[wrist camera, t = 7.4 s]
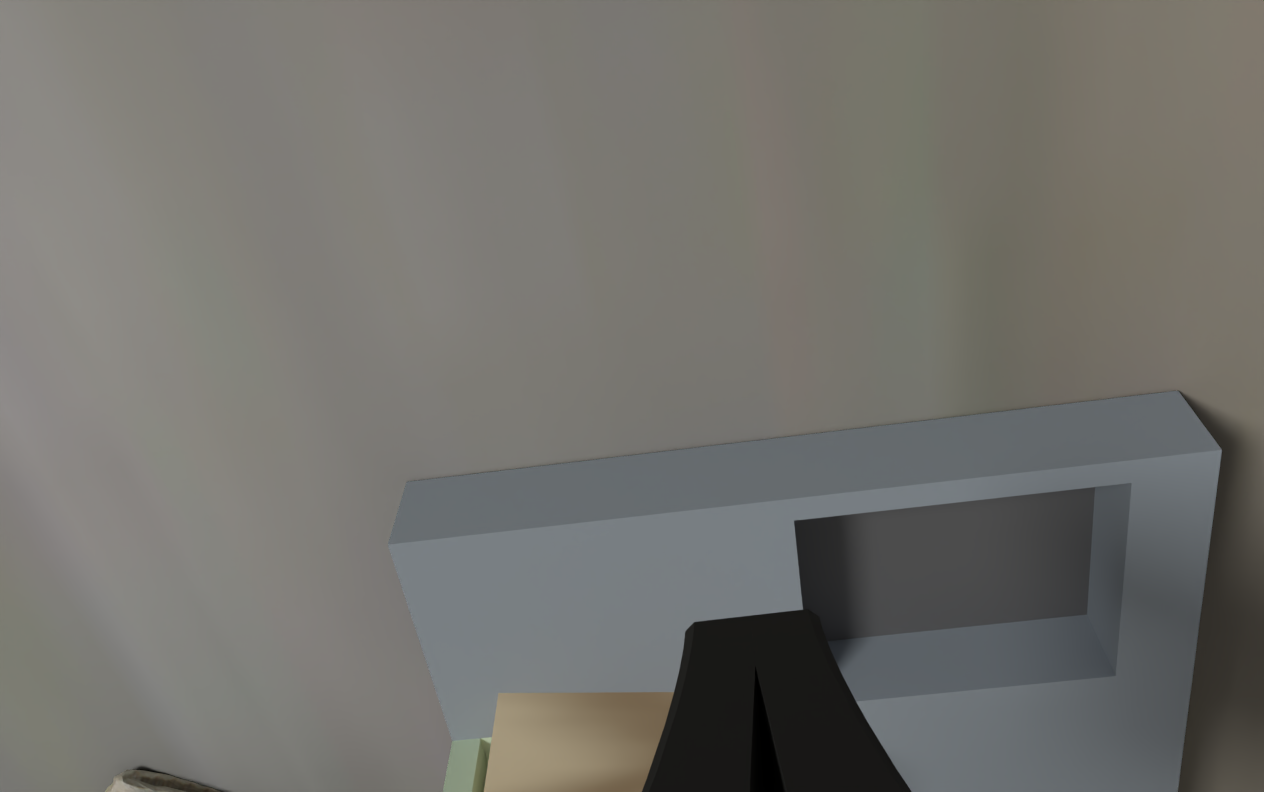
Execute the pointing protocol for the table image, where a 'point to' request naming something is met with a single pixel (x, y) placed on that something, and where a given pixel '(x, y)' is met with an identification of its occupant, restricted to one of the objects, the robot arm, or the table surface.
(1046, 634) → the deck
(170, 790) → the washcloth
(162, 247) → the table surface
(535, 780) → the beech block
